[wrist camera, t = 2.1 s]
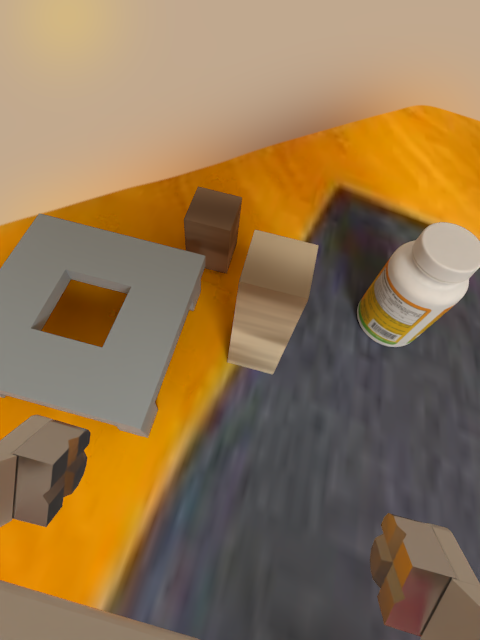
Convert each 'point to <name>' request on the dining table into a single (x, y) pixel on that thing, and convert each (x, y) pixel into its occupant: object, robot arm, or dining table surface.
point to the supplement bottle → (419, 284)
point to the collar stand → (125, 335)
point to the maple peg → (270, 299)
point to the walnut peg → (213, 227)
